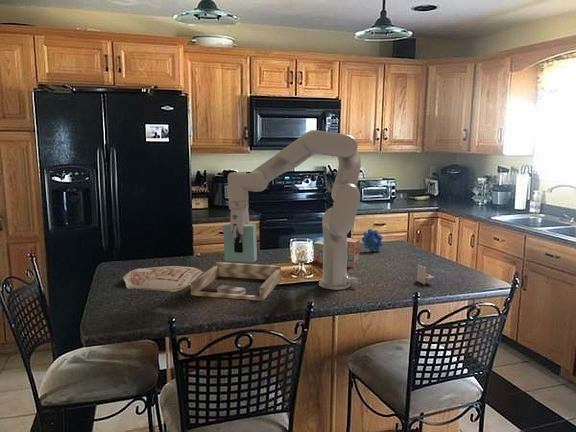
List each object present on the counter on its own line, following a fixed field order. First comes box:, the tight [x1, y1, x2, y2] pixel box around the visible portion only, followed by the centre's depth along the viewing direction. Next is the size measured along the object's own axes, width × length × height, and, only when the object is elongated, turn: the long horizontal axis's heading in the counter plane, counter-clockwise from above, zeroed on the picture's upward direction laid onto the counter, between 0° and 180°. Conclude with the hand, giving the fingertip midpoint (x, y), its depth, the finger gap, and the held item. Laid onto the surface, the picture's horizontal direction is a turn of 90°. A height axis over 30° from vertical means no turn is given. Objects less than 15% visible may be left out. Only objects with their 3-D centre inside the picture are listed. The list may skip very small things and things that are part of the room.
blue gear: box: [361, 228, 384, 252], centre depth 250 cm, size 12×7×12 cm, turn 104°
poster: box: [122, 265, 205, 293], centre depth 204 cm, size 28×6×30 cm
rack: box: [190, 261, 282, 302], centre depth 190 cm, size 28×27×7 cm
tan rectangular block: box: [312, 237, 361, 268], centre depth 229 cm, size 21×6×12 cm, turn 58°
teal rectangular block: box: [222, 223, 258, 263], centre depth 190 cm, size 12×4×14 cm, turn 77°
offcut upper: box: [216, 284, 247, 295], centre depth 183 cm, size 10×4×2 cm, turn 66°
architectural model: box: [416, 264, 435, 285], centre depth 200 cm, size 3×7×7 cm, turn 18°
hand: (240, 250), depth 190 cm, fingers closed on teal rectangular block, 4 cm apart
